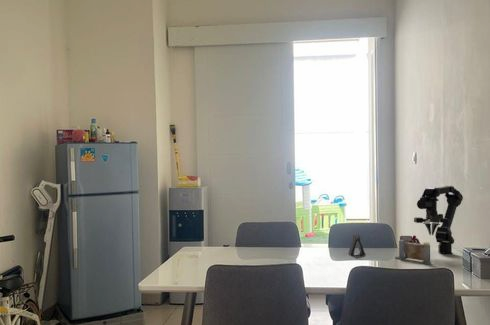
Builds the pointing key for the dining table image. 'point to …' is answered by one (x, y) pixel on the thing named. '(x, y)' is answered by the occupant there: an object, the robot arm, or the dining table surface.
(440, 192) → the robot arm
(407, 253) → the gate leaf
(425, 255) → the gate posts
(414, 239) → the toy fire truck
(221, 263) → the dining table surface
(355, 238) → the phone stand
